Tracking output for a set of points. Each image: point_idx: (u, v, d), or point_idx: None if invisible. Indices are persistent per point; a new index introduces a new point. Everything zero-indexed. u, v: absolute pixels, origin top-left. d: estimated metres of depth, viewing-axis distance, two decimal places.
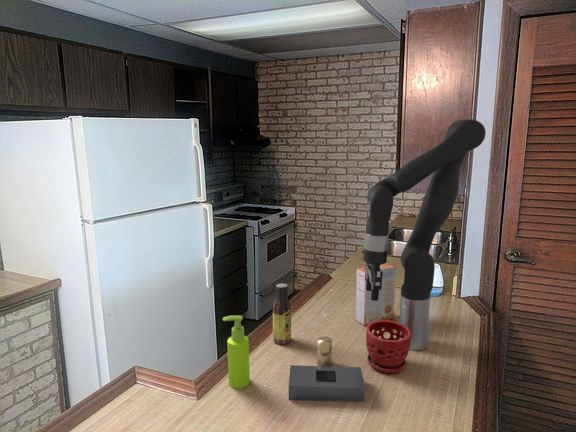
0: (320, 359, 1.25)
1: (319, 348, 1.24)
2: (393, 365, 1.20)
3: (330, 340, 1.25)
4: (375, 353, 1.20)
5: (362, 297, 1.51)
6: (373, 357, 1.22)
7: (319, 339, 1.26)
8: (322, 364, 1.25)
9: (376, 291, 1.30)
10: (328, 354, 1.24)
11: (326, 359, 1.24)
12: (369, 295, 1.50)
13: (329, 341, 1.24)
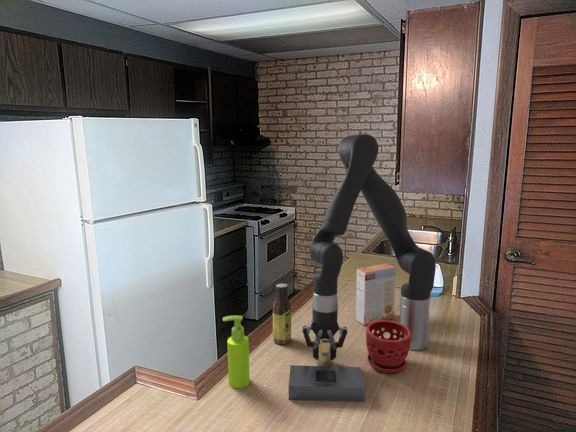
0: (320, 359, 1.25)
1: (319, 348, 1.24)
2: (393, 365, 1.20)
3: None
4: (375, 353, 1.20)
5: (362, 297, 1.51)
6: (373, 357, 1.22)
7: None
8: (322, 364, 1.25)
9: (336, 348, 1.26)
10: (328, 354, 1.24)
11: (326, 359, 1.24)
12: (369, 295, 1.50)
13: (329, 341, 1.24)
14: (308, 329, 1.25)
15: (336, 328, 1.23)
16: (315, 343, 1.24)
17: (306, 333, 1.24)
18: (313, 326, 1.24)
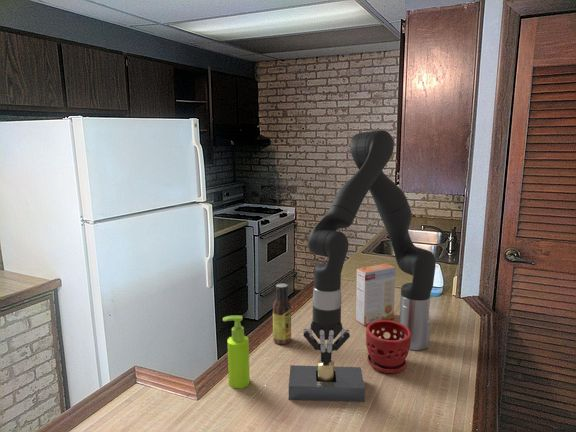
0: None
1: (320, 372, 1.12)
2: (393, 365, 1.20)
3: (332, 363, 1.12)
4: (375, 353, 1.20)
5: (362, 297, 1.51)
6: (373, 357, 1.22)
7: (320, 362, 1.13)
8: None
9: None
10: (330, 378, 1.11)
11: None
12: (369, 295, 1.50)
13: (331, 364, 1.12)
14: (309, 331, 1.11)
15: (339, 328, 1.09)
16: (322, 346, 1.10)
17: (308, 336, 1.10)
18: (313, 326, 1.10)
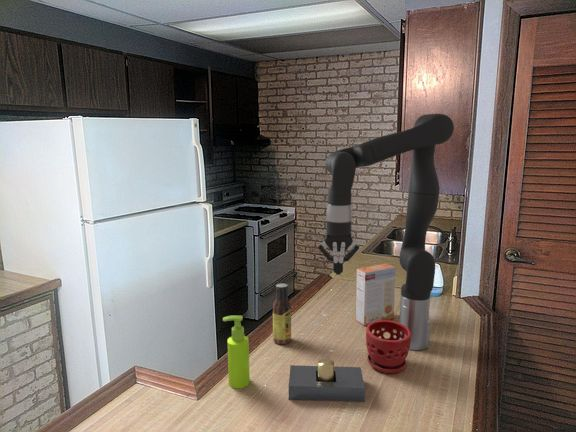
0: None
1: (320, 372, 1.12)
2: (393, 365, 1.20)
3: (332, 363, 1.12)
4: (375, 353, 1.20)
5: (362, 297, 1.51)
6: (373, 357, 1.22)
7: (320, 362, 1.13)
8: None
9: (342, 263, 1.27)
10: (330, 378, 1.11)
11: None
12: (369, 295, 1.50)
13: (331, 364, 1.12)
14: (323, 244, 1.25)
15: (350, 241, 1.24)
16: (334, 257, 1.25)
17: (323, 248, 1.25)
18: (326, 239, 1.24)
